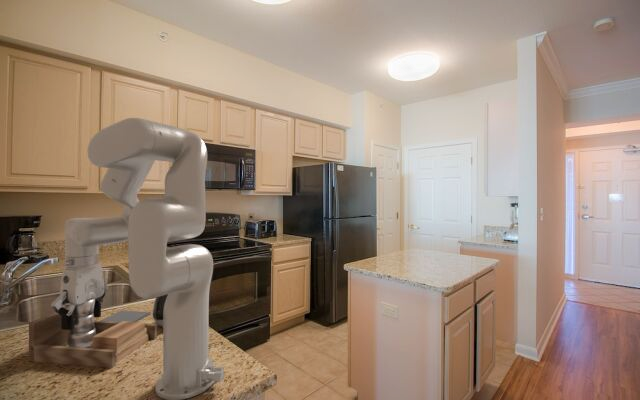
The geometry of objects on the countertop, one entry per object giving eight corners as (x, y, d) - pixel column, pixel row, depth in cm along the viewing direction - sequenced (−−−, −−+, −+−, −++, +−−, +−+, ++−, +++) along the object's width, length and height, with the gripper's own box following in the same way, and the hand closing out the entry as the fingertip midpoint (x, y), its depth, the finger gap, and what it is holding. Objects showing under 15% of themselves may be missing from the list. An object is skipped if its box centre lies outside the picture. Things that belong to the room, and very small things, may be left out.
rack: (156, 337, 93) (156, 304, 93) (112, 367, 76) (112, 327, 76) (86, 332, 96) (86, 301, 96) (28, 361, 80) (28, 322, 80)
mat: (150, 313, 113) (150, 312, 113) (125, 327, 101) (125, 325, 101) (121, 312, 114) (121, 310, 114) (93, 325, 102) (93, 323, 102)
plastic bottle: (78, 354, 83) (78, 281, 83) (61, 350, 85) (61, 278, 85) (102, 344, 89) (102, 275, 89) (85, 340, 91) (85, 273, 91)
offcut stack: (148, 341, 91) (148, 320, 91) (116, 362, 79) (116, 339, 79) (123, 339, 92) (123, 319, 92) (88, 360, 80) (88, 337, 80)
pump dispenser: (165, 333, 96) (165, 285, 96) (146, 326, 101) (146, 280, 101) (193, 322, 105) (193, 278, 105) (174, 316, 110) (174, 274, 110)
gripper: (64, 268, 78) (64, 337, 78) (118, 256, 95) (118, 312, 95) (38, 267, 79) (38, 335, 79) (96, 255, 96) (96, 311, 96)
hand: (82, 322), depth 87 cm, fingers open, 8 cm apart
